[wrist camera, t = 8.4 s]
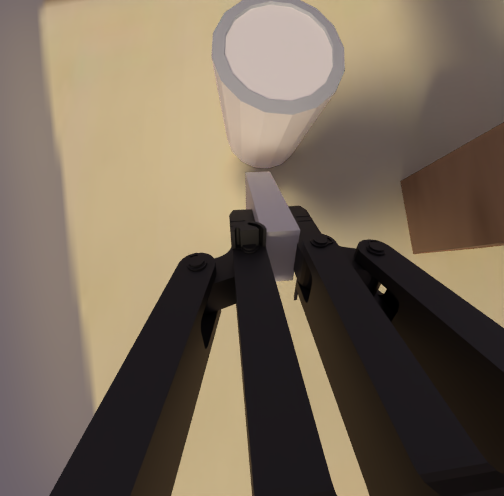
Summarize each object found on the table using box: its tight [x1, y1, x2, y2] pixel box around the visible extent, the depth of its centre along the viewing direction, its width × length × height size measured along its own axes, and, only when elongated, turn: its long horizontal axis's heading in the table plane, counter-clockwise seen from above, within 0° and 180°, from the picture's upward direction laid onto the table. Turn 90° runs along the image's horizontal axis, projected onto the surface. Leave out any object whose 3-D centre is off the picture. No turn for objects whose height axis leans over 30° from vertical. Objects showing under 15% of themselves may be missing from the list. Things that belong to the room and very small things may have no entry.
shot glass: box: [212, 0, 345, 168], centre depth 15 cm, size 7×7×7 cm
